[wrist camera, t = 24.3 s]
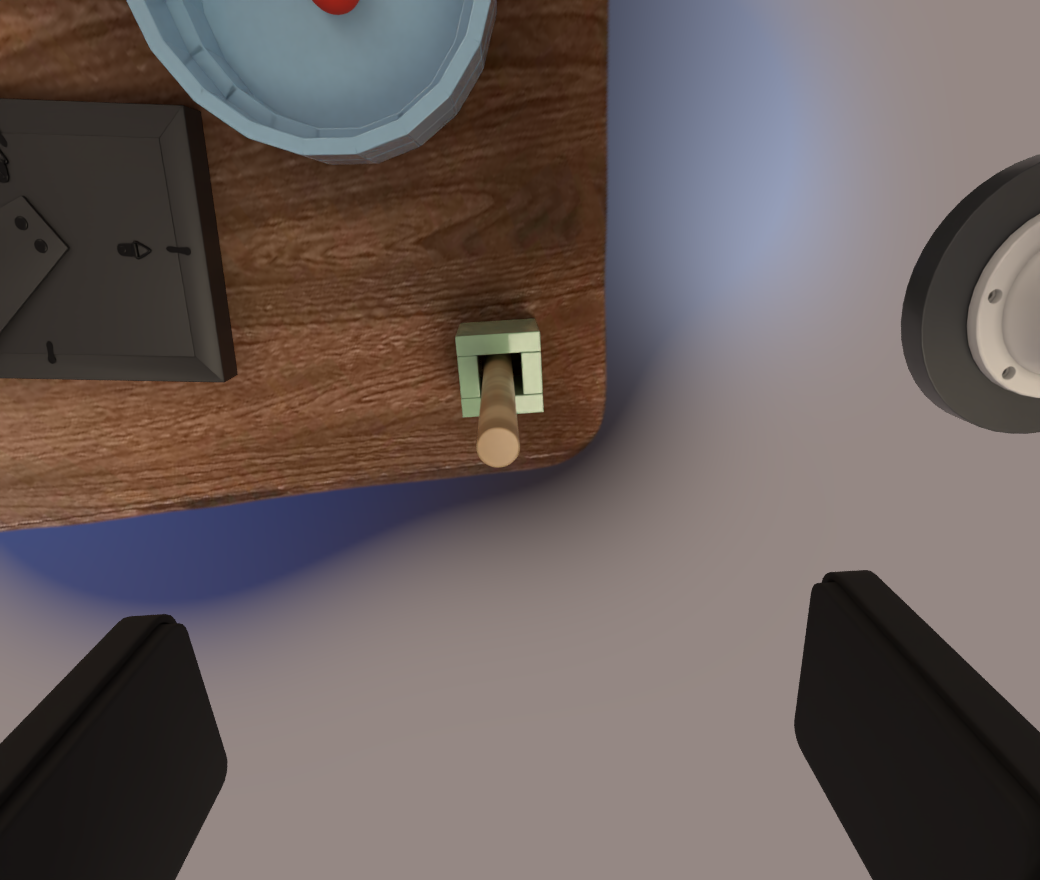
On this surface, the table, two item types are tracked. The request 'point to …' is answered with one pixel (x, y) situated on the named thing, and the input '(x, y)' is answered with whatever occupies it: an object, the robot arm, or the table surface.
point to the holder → (500, 340)
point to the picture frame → (109, 245)
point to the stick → (498, 413)
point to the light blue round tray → (324, 68)
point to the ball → (336, 6)
